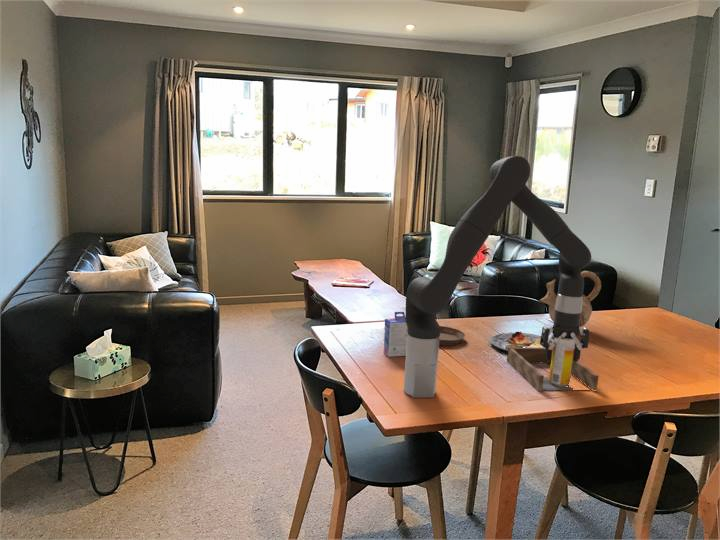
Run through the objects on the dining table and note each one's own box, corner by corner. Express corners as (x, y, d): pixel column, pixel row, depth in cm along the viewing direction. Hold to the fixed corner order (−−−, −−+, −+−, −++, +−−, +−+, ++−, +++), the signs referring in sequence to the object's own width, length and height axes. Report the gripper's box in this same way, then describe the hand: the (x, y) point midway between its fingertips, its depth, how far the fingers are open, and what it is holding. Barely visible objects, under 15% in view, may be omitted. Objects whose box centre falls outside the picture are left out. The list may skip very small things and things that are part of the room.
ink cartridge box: (408, 350, 203) (411, 310, 201) (415, 355, 198) (418, 314, 195) (382, 352, 200) (384, 311, 197) (388, 357, 195) (390, 315, 192)
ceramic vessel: (560, 321, 250) (567, 264, 245) (602, 332, 236) (610, 272, 231) (535, 327, 239) (542, 268, 234) (578, 340, 224) (586, 277, 219)
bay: (596, 391, 175) (598, 375, 174) (538, 391, 172) (540, 375, 171) (558, 361, 199) (560, 347, 198) (506, 361, 197) (508, 347, 196)
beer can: (571, 382, 180) (577, 336, 176) (566, 389, 175) (572, 341, 171) (551, 377, 183) (557, 332, 180) (545, 383, 178) (552, 336, 175)
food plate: (514, 333, 229) (515, 324, 228) (570, 349, 213) (571, 340, 212) (478, 347, 212) (478, 338, 211) (536, 366, 196) (537, 356, 195)
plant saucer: (450, 331, 228) (451, 324, 228) (473, 346, 212) (474, 338, 211) (409, 334, 223) (409, 326, 222) (429, 349, 206) (429, 341, 206)
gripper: (551, 312, 170) (544, 364, 173) (597, 313, 171) (590, 365, 175) (540, 305, 177) (534, 356, 180) (584, 306, 179) (577, 356, 182)
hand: (561, 360), depth 177 cm, fingers open, 8 cm apart
